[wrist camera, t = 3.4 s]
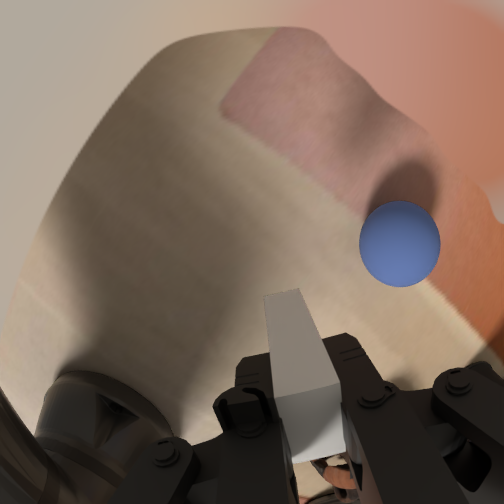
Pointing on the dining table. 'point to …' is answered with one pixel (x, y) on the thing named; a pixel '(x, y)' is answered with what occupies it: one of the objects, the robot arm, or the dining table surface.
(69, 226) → the dining table surface
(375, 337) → the dining table surface
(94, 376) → the robot arm
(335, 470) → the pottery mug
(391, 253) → the ball
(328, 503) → the beverage bottle
